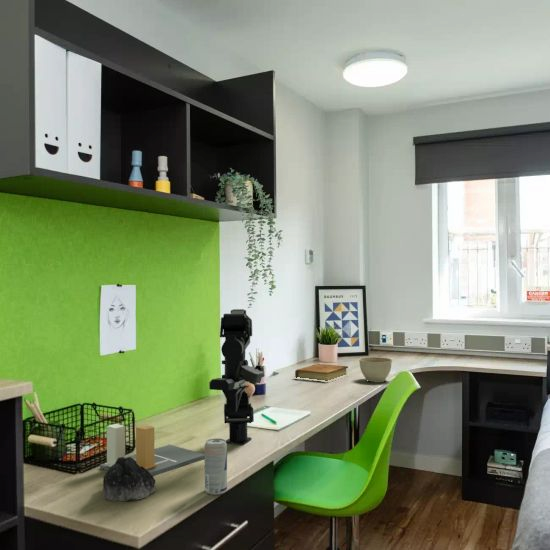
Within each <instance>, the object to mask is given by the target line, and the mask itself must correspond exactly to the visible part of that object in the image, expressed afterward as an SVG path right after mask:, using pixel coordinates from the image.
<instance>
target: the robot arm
mask: <svg viewBox="0 0 550 550" xmlns="http://www.w3.org/2000/svg"><path fill="white" fill-rule="evenodd" d="M222 315H223V316H222V317H221V318H220V330H219V338H224V339H225V340H224V342H223V343H222V346H221V353H222V355H223V357H224V360H223V359H222V360H221V365H224V374H221V377H217V378H213V379H211V380H210V381H209V382H208V383H209V384H208V389H209V390H212V391H214V390H215V391H222V393H223V395H224V396H225V399H226V403H224V405H223V414H224V416H223V417H224V418H223V419H224V424H228V425H229V427H228V429H229V432H228V433H229V435H228V436H229V437H228V439H225V440H226V444H227V443H228V444H235V445H245V444H247V443H248V442H249V441H251V440H252V437H250V436H249V437H248V424H252V423H253V422H255V421H254V420H255V419H254V417H255V416H254V407H253V405H252V403H250V398H249V395H248V393H247V391H246V390H247V389H248V388H250V386H249V385H246V383H249V384H251V385H257V384H261V382H262V378H264V377H265V369H264V368H265V367H264V365H263V366H262V365H261V364H258V365H255V366H250V365H249V361H248V360H247V359H246V350H247V348H248V346H249V345H250V344H251V337H253V321H252V318H251V317H249V315H248V314H247V310H246V309H244V308H241V309H238V308H237V309H231V310H230V313H223V314H222Z"/></svg>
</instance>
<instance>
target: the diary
mask: <svg viewBox="0 0 550 550" xmlns="http://www.w3.org/2000/svg"><path fill="white" fill-rule="evenodd" d="M347 369H349V366H347V365H338V364H337V365H336V364H335V365H334V364H324V363H317V364H312V365H309V366H305V367H301V368H298V369H296V370H295V372H294V375H295V376H294V378H295V377H296V378H297V377H300V378H309V379H317V380H325V381H328V380H331V379H334V378H337V377H340V376H343V375H347Z"/></svg>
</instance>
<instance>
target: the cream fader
mask: <svg viewBox="0 0 550 550" xmlns="http://www.w3.org/2000/svg"><path fill="white" fill-rule="evenodd" d="M119 457H124V458H125V457H126V426H125V425H122V424H119V423H114V424H110V425H109V424H108V425H107V426H106V462H104V463H105V465H106V466H108V467H111V466H112V465H114V464H115V463H116V461H117V459H118V458H119Z"/></svg>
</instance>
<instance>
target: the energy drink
mask: <svg viewBox="0 0 550 550" xmlns="http://www.w3.org/2000/svg"><path fill="white" fill-rule="evenodd" d="M226 440H227V439H224V438H210V439H207V440H205V443H204V454H205V459H204V491H205V493H206V494H207V495H211V496H219V495H223V494H225V493H226V492H227V490H228V444H227V443H226Z"/></svg>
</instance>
